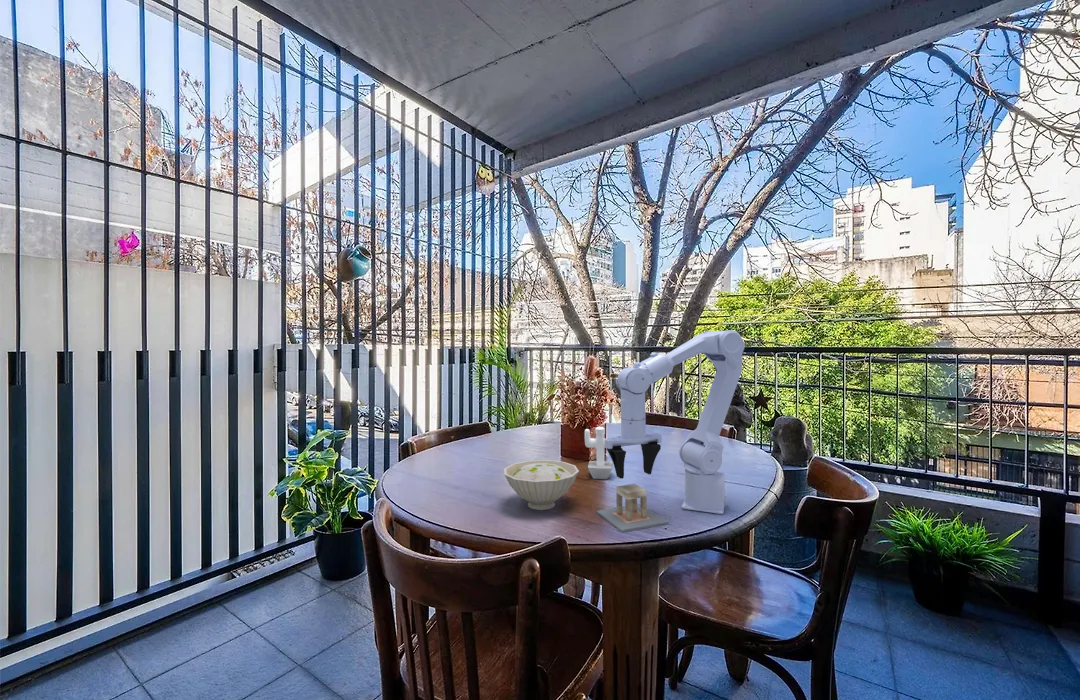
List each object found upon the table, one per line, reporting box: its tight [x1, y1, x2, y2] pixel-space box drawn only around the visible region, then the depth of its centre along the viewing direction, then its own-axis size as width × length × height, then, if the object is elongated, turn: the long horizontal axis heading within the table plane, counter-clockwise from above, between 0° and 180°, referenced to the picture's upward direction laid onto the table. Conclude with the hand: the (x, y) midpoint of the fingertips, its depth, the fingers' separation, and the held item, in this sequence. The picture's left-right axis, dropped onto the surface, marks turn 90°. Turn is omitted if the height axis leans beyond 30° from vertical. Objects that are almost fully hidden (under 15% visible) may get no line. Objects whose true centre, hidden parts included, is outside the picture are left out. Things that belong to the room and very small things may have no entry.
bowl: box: [503, 459, 580, 511], centre depth 116 cm, size 19×19×10 cm
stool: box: [615, 483, 648, 521], centre depth 107 cm, size 5×5×6 cm
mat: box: [596, 503, 669, 533], centre depth 107 cm, size 12×12×1 cm
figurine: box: [584, 426, 614, 480], centre depth 139 cm, size 7×9×15 cm
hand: (634, 475), depth 109 cm, fingers open, 7 cm apart
